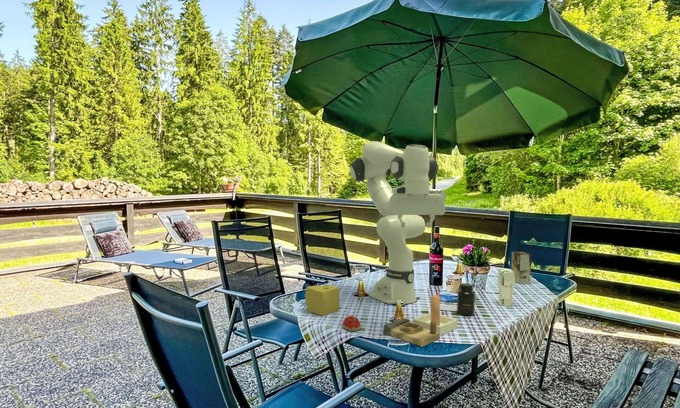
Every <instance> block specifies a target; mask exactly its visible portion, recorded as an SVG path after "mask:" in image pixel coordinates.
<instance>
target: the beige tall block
mask: <svg viewBox="0 0 680 408" xmlns="http://www.w3.org/2000/svg"><path fill="white" fill-rule="evenodd" d="M497 270H498V272H497V287H498V293H499V294H498V295H499V296H498V300H497V304H498V305H500V306H503V307H513V306H514V303H513V293H514V289H515V284H516V282H515V274H514V271H513V270H511V269H507V268H500V269H497Z"/></svg>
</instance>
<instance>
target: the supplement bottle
mask: <svg viewBox="0 0 680 408" xmlns="http://www.w3.org/2000/svg"><path fill="white" fill-rule="evenodd" d="M473 286H474V285H473V284H471V283H465V282H463V283H460V286H459V287H460V288H459V289H460V290H458V291H457V298H456V300H457V301H456V313H457V314H459V315H460V316H466V317H472V316H474V315H475V309H476V308H475V307H476V305H475V303H476V301H475V300H476V294H475V292H474V291H473Z"/></svg>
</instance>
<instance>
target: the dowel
mask: <svg viewBox="0 0 680 408" xmlns="http://www.w3.org/2000/svg"><path fill="white" fill-rule="evenodd" d="M430 313H431V322H436V325H437V326H440V315H441V297H440V295H437V294H436V295H435V294H432V295H430Z"/></svg>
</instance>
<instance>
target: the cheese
mask: <svg viewBox="0 0 680 408" xmlns="http://www.w3.org/2000/svg"><path fill="white" fill-rule="evenodd" d="M304 296H305V298H304V299H305V304H306V305H305V307H306V311H307V312H309V311H310V312H309V313H312V312H314V313H313V314H315V313H316V315H318V314H319V316H321V315H322V317H324V316H327V315H329V314H333V313H337V312H339V311H340V297H341V295H340V287H337V286H334V285H330V284H327V285H320V284H319V285H318V284H317V285H310V286H306V288H305V295H304ZM323 315H324V316H323Z"/></svg>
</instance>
